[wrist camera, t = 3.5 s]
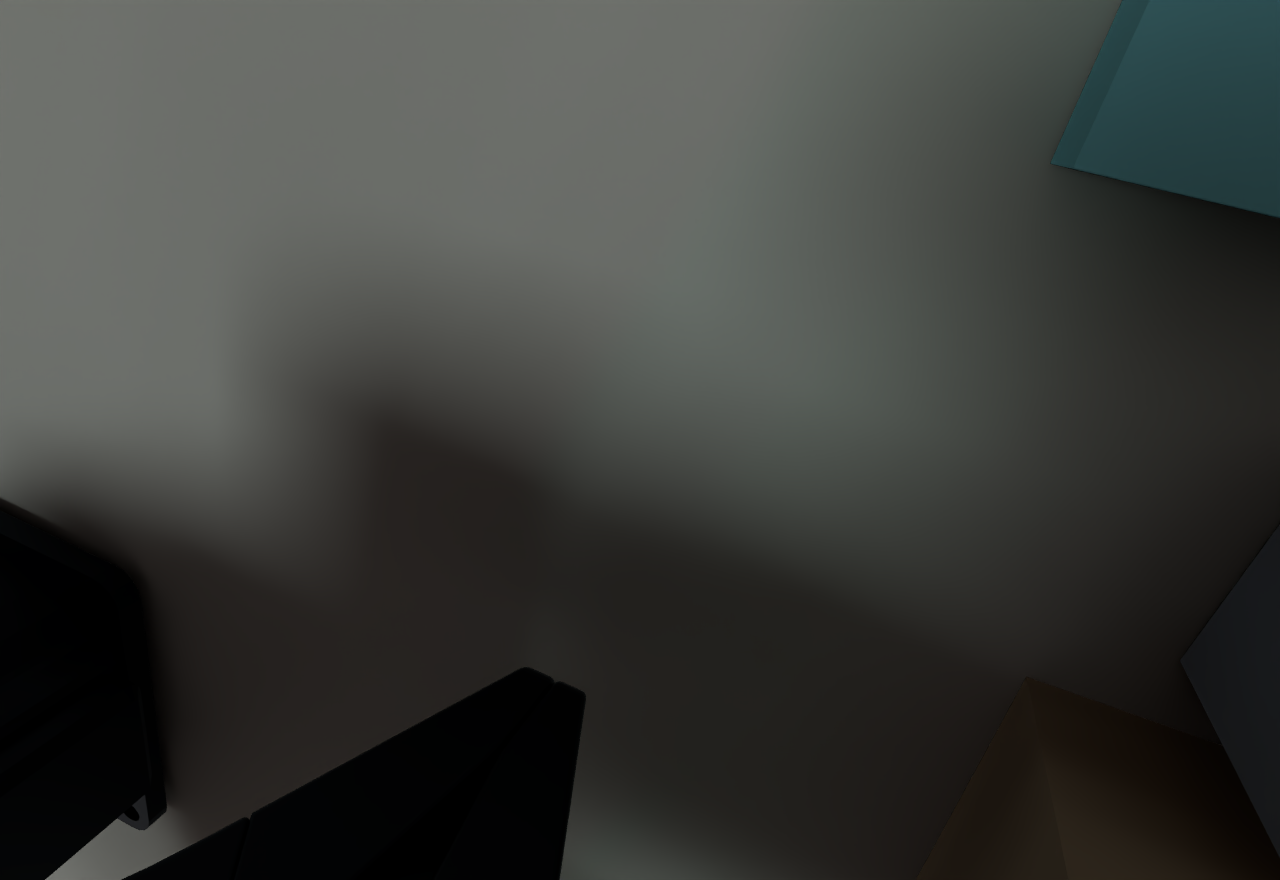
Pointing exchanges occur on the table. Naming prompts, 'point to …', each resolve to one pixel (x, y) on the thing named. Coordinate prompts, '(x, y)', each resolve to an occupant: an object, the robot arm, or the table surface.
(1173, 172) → the pad
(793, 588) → the table surface
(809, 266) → the table surface
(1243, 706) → the grey blocks
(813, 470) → the table surface
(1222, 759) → the walnut block
